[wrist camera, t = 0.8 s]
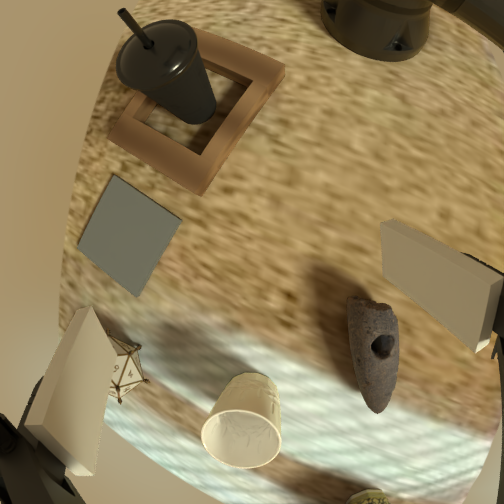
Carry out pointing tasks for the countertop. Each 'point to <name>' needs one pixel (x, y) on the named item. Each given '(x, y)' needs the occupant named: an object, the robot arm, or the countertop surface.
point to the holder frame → (218, 149)
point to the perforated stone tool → (373, 349)
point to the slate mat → (128, 235)
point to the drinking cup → (167, 68)
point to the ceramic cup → (368, 497)
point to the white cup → (244, 423)
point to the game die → (125, 368)
